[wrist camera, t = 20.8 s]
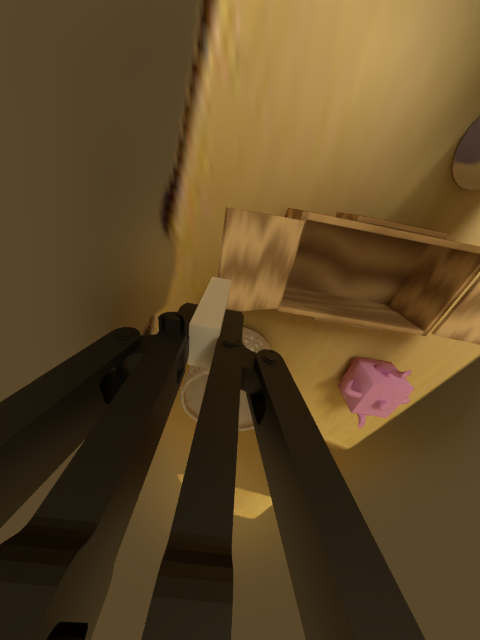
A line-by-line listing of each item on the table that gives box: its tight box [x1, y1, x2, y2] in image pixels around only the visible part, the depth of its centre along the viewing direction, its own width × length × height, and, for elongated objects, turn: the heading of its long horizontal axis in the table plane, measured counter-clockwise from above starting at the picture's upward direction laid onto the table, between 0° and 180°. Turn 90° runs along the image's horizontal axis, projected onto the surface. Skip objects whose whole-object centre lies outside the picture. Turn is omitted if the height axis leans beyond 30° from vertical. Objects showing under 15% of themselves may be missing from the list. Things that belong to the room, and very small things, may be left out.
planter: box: [180, 327, 271, 431], centre depth 43 cm, size 19×19×14 cm
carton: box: [273, 208, 480, 336], centre depth 33 cm, size 16×26×10 cm, turn 80°
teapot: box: [338, 357, 414, 428], centre depth 46 cm, size 15×13×11 cm
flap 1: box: [218, 207, 305, 311], centre depth 25 cm, size 12×1×10 cm
